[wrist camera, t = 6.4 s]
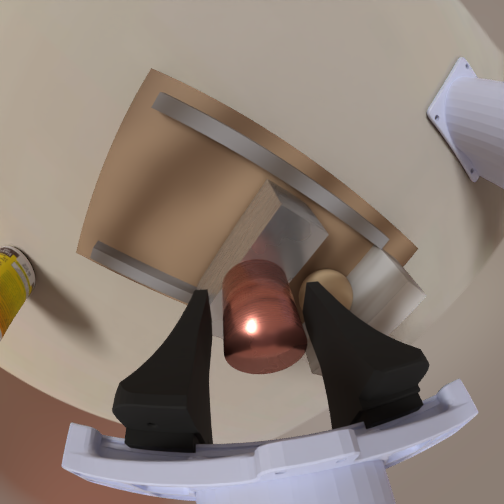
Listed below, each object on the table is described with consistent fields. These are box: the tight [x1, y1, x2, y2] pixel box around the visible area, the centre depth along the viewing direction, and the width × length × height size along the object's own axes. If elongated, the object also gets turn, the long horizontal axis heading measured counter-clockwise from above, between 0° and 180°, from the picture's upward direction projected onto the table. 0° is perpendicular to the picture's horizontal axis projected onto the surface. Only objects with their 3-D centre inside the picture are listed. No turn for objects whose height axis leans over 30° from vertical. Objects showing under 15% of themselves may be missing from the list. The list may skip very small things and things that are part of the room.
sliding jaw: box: [197, 179, 329, 374], centre depth 15 cm, size 4×9×9 cm, turn 147°
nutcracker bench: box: [76, 68, 427, 376], centre depth 17 cm, size 24×14×6 cm, turn 57°
